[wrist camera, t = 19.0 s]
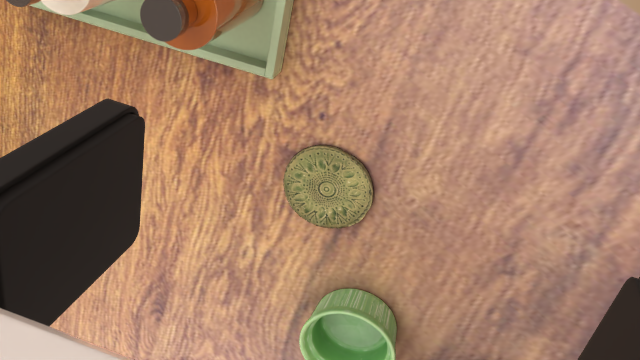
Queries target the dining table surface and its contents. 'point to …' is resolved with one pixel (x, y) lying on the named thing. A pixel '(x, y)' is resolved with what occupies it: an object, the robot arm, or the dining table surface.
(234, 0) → the amber bottle
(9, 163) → the robot arm
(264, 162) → the dining table surface
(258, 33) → the tray
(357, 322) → the ramekin
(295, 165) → the medallion
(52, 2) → the frosted bottle
